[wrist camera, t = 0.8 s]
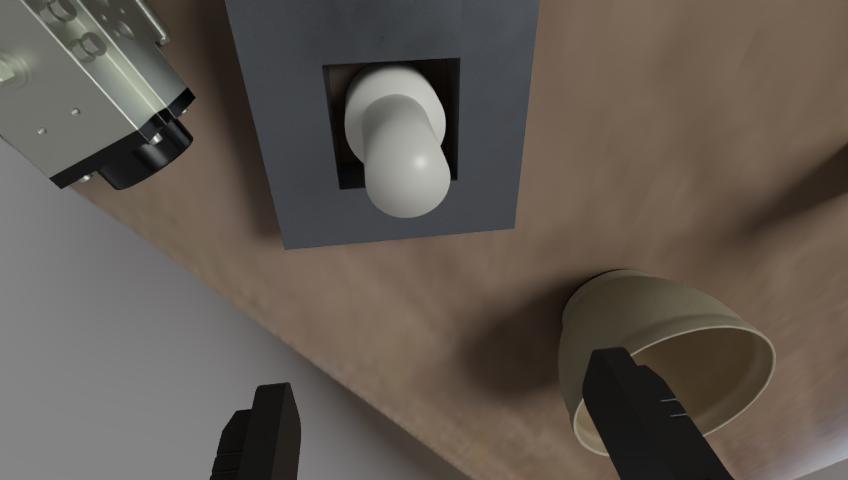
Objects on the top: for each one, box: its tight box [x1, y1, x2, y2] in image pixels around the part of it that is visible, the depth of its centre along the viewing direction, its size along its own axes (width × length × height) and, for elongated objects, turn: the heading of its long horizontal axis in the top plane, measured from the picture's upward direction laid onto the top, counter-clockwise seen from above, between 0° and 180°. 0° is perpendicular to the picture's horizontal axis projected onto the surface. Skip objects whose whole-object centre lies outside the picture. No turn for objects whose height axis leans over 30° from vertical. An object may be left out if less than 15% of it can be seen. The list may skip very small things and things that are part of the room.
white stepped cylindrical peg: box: [345, 61, 450, 218], centre depth 26 cm, size 6×6×11 cm
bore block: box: [224, 0, 539, 250], centre depth 28 cm, size 16×16×4 cm
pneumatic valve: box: [0, 0, 196, 190], centre depth 20 cm, size 6×12×12 cm, turn 24°
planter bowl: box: [558, 269, 776, 457], centre depth 40 cm, size 16×16×11 cm
